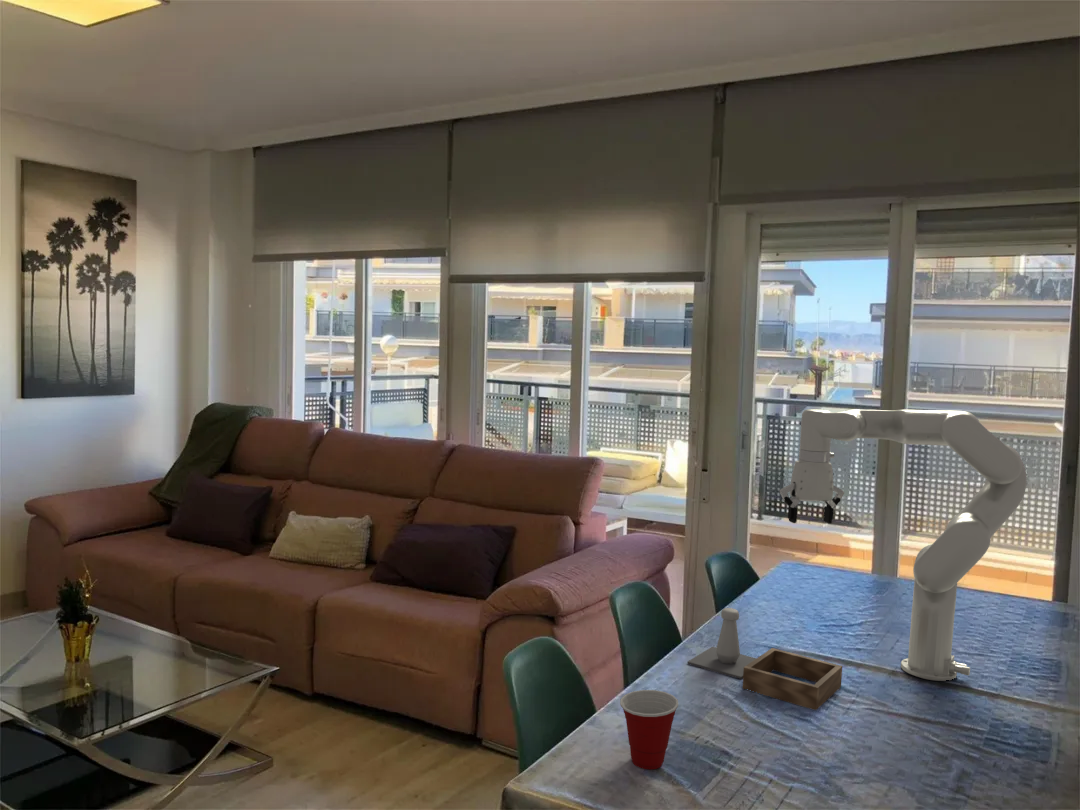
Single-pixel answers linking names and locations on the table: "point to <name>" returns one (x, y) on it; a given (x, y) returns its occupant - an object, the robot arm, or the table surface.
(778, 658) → the frame
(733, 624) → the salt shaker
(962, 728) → the table surface
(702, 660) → the coaster
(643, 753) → the plastic cup
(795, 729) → the table surface
